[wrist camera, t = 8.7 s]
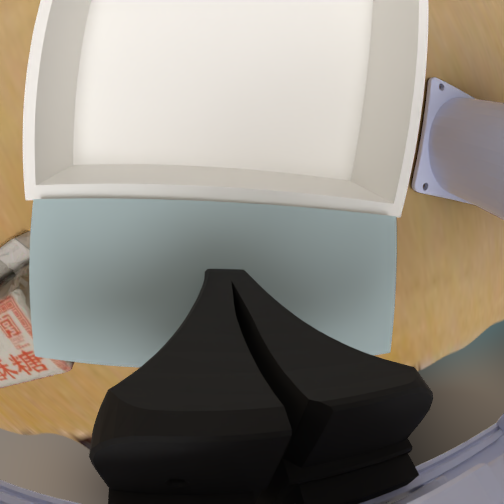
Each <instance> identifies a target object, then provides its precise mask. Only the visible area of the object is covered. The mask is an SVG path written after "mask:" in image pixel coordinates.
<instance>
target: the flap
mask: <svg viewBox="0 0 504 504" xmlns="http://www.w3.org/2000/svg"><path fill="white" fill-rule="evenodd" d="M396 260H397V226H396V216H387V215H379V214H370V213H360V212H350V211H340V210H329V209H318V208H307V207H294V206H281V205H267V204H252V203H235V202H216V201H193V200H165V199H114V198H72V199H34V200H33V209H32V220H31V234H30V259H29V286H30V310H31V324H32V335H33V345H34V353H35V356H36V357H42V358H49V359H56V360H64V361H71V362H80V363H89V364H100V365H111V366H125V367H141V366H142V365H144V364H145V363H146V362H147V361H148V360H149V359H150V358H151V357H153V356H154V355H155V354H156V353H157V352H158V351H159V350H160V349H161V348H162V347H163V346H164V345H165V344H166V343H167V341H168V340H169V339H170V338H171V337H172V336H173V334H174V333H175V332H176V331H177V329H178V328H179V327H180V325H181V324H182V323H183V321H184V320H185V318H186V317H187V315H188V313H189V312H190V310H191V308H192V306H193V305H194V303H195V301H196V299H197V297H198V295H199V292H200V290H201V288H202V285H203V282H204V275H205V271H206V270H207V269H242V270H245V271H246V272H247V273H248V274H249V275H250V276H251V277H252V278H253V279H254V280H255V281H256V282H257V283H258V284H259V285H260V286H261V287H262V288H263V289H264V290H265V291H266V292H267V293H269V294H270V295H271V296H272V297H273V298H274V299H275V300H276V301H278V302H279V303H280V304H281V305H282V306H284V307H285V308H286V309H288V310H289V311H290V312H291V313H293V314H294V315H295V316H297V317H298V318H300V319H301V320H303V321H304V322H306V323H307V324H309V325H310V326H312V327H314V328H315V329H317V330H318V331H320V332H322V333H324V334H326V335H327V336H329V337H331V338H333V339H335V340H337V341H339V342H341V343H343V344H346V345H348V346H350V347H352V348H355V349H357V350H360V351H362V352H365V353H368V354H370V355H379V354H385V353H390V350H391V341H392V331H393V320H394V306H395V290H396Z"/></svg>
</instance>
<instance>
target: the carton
mask: <svg viewBox="0 0 504 504" xmlns="http://www.w3.org/2000/svg"><path fill="white" fill-rule="evenodd" d="M427 45H428V0H41V2H40V6H39V10H38V14H37V18H36V22H35V27H34V32H33V37H32V42H31V48H30V54H29V61H28V68H27V76H26V86H25V97H24V113H23V171H24V187H25V199H26V200H34V199H72V198H114V199H165V200H193V201H216V202H235V203H252V204H267V205H281V206H294V207H307V208H318V209H329V210H340V211H350V212H360V213H370V214H379V215H387V216H396V217H399V218H400V217H401V213H402V209H403V205H404V201H405V197H406V193H407V188H408V184H409V179H410V174H411V170H412V165H413V159H414V154H415V149H416V143H417V137H418V131H419V124H420V118H421V110H422V102H423V94H424V85H425V74H426V61H427Z"/></svg>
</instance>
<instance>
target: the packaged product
mask: <svg viewBox="0 0 504 504" xmlns="http://www.w3.org/2000/svg"><path fill="white" fill-rule="evenodd" d="M30 234H31V231H28V232H26V233H24V234H22V235H20V236H18V237H15V238H13V239H11V240H10V241H8V242H7V243H6V244H4V245H3V246H2V247H1V248H0V388H3V387H7V386H11V385H16V384H20V383H24V382H28V381H33V380H36V379H41V378H44V377H48V376H53V375H55V374H61V373H65V372H68V371H70V370H71V369H72V367H73V364H74V362H71V361H64V360H56V359H49V358H42V357H36V356H35V353H34V345H33V335H32V324H31V310H30V286H29V259H30Z"/></svg>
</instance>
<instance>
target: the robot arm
mask: <svg viewBox="0 0 504 504" xmlns="http://www.w3.org/2000/svg"><path fill="white" fill-rule="evenodd" d="M439 85H440V87H441V89H440V88H439ZM424 183H425V186H424V188H423V184H424ZM412 189H413V190H414V191H416V192H418V193H423V194H428V195H433V196H438V197H443V198H447V199H452V200H456V201H461V202H465V203H469V204H473V205H476V206H478V207H480V208H482V209H484V210H486V211H488V212H490V213H491V214H493V215H495V216H497V217H499V218H501V219H503V220H504V103H501V102H494V101H487V100H479V99H475V98H473V97H472V96H470V95H468V94H466V93H465V92H463V91H461V90H459V89H457V88H456V87H454V86H452V85H450V84H448V83H446V82H444V81H442V80H440V79H438V78H435V77H432V78H430V79H429V80H428V87H427V96H426V105H425V112H424V120H423V126H422V133H421V139H420V145H419V150H418V156H417V161H416V166H415V171H414V176H413V181H412ZM432 400H433V393H432V391H431V390H430V388H429V387H428V385H427V384H426V383H425V381H424V380H423V379H422V377H421V376H420V374H419V373H418V372H417V370H416V369H415V368H414V367H411V366H407V365H404V364H400V363H396V362H392V361H389V360H385V359H382V358H379V357H376V356H373V355H370V354H368V353H365V352H362V351H360V350H357V349H355V348H352V347H350V346H348V345H346V344H343V343H341V342H339V341H337V340H335V339H333V338H331V337H329V336H327V335H326V334H324V333H322V332H320V331H318V330H317V329H315V328H314V327H312V326H310V325H309V324H307V323H306V322H304V321H303V320H301V319H300V318H298V317H297V316H295V315H294V314H293V313H291V312H290V311H289V310H288V309H286V308H285V307H284V306H282V305H281V304H280V303H279V302H278V301H276V300H275V299H274V298H273V297H272V296H271V295H270V294H269V293H267V292H266V291H265V290H264V289H263V288H262V287H261V286H260V285H259V284H258V283H257V282H256V281H255V280H254V279H253V278H252V277H251V276H250V275H249V274H248V273H247V272H246V271H245V270H242V269H207V270H206V271H205V275H204V282H203V285H202V288H201V290H200V292H199V295H198V297H197V299H196V301H195V303H194V305H193V306H192V308H191V310H190V312H189V313H188V315H187V317H186V318H185V320H184V321H183V323H182V324H181V325H180V327H179V328H178V329H177V331H176V332H175V333H174V334H173V336H172V337H171V338H170V339H169V340H168V341H167V343H166V344H165V345H164V346H163V347H162V348H161V349H160V350H159V351H158V352H157V353H156V354H155V355H154V356H153V357H151V358H150V359H149V360H148V361H147V362H146V363H145V364H144V365H142V366H141V367H140V368H139V369H138V370H137V371H135V372H134V373H133V374H131V375H130V376H128V377H127V378H125V379H124V380H123V381H121V382H120V383H118V384H117V385H115V386H114V387H112V388H110V389H109V390H108V392H107V393H106V396H105V398H104V400H103V402H102V404H101V407H100V409H99V412H98V415H97V418H96V421H95V424H94V428H93V433H92V440H91V447H90V454H89V457H90V460H91V462H92V464H93V466H94V467H95V469H96V470H97V472H98V473H99V475H100V476H101V477H102V479H103V480H104V482H105V483H106V484H107V486H108V487H109V499H108V500H109V501H108V504H390V503H393V502H394V503H393V504H504V413H503V414H502V416H501V417H500V418H499V419H498V420H497V423H495V424H494V425H492V426H490V427H489V428H487V429H486V430H484V431H483V432H481V433H479V434H478V435H476V436H474V437H473V438H471V439H469V440H467V441H466V442H464V443H462V444H460V445H458V446H457V447H455V448H453V449H451V450H449V451H447V452H445V453H443V454H441V455H440V456H437V457H435V458H433V459H431V460H429V461H427V462H425V463H422V464H420V465H418V466H416V467H415V466H414V464H413V462H412V461H411V459H410V457H409V455H408V453H409V452H410V451H411V450H412V445H411V444H410V442H409V440H408V439H407V438H408V437H409V435H410V434H411V433H412V432H413V431H414V429H415V428H416V427H417V426H418V424H419V423H420V422H421V421H422V419H423V418H424V417H425V415H426V414H427V412H428V411H429V409H430V406H431V404H432ZM397 500H398V501H397ZM395 501H396V502H395ZM0 504H81V503H75V502H71V501H67V500H63V499H59V498H55V497H51V496H47V495H44V494H41V493H37V492H34V491H31V490H28V489H25V488H21V487H19V486H16V485H13V484H10V483H8V482H5V481H2V480H0Z"/></svg>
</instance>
